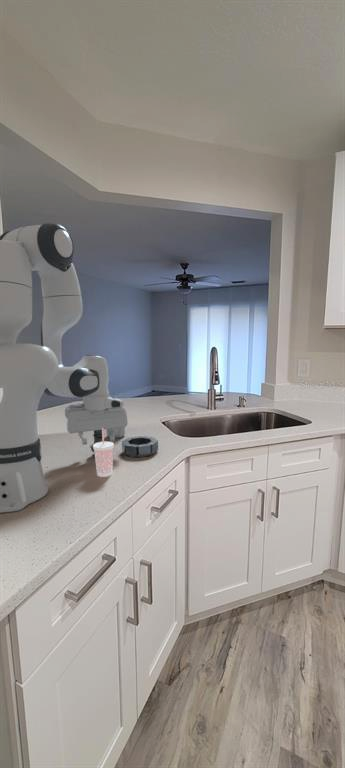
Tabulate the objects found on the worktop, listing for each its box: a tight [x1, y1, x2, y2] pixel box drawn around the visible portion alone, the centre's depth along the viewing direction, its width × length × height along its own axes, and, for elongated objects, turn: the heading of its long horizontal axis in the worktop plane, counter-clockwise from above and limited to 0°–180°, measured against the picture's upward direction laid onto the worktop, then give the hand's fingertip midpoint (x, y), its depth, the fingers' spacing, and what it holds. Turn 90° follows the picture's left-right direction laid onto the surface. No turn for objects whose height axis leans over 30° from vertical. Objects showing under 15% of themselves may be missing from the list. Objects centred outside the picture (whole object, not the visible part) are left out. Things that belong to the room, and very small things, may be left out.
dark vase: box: [89, 430, 102, 459], centre depth 116 cm, size 6×6×12 cm
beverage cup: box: [93, 428, 115, 478], centre depth 100 cm, size 6×6×14 cm
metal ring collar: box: [121, 435, 159, 458], centre depth 120 cm, size 12×12×4 cm
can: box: [105, 427, 126, 439], centre depth 139 cm, size 8×8×12 cm
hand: (98, 442), depth 116 cm, fingers open, 8 cm apart
